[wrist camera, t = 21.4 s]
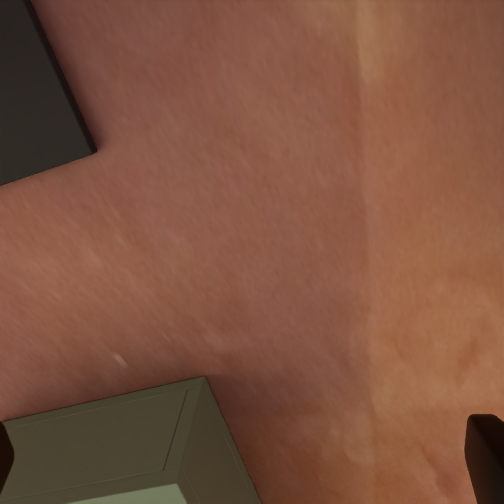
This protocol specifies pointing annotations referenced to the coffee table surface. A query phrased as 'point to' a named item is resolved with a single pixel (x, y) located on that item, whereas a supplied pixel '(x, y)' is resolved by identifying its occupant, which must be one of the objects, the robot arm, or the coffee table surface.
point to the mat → (34, 100)
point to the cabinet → (129, 452)
